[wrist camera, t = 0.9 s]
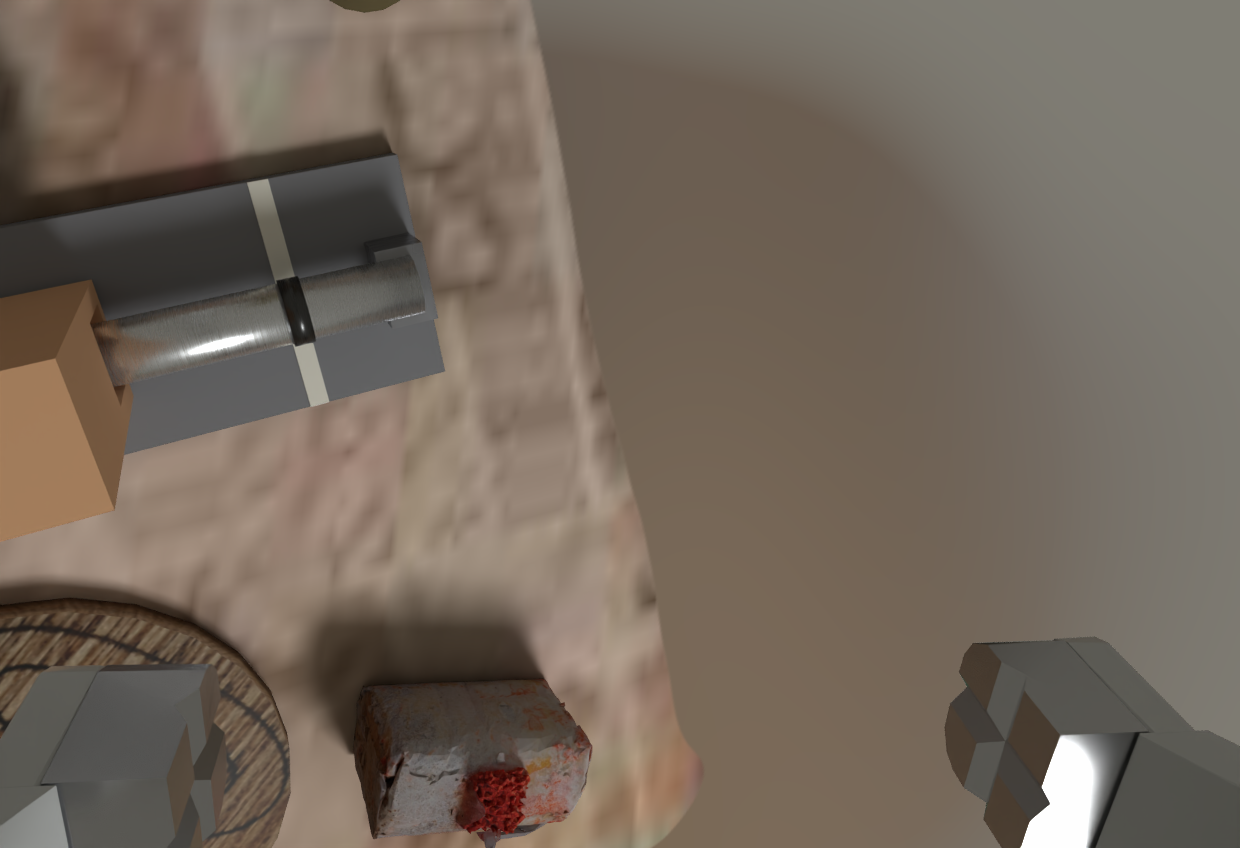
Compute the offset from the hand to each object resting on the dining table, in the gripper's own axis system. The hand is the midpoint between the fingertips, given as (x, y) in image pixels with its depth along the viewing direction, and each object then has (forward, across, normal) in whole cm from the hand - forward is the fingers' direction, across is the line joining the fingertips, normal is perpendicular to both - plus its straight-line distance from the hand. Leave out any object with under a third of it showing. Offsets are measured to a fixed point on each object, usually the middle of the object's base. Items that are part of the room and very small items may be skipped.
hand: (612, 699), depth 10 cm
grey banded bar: (+41, +15, +10) cm, 44 cm away
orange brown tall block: (+39, +20, +11) cm, 45 cm away
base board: (+42, +15, +10) cm, 46 cm away
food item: (+43, +1, +38) cm, 57 cm away
